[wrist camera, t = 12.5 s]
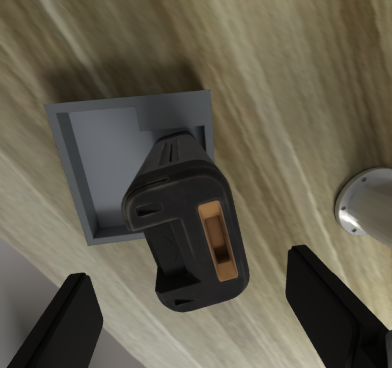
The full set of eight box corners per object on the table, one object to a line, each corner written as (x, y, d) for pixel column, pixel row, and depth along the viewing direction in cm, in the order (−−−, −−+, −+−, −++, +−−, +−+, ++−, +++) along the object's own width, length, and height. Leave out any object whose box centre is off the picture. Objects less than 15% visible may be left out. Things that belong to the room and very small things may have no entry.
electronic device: (150, 139, 29) (107, 193, 10) (192, 127, 29) (225, 159, 10) (170, 199, 32) (166, 323, 13) (208, 188, 32) (256, 297, 13)
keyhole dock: (205, 92, 29) (210, 89, 25) (213, 216, 35) (218, 228, 31) (61, 105, 27) (43, 104, 24) (97, 230, 34) (87, 245, 30)
